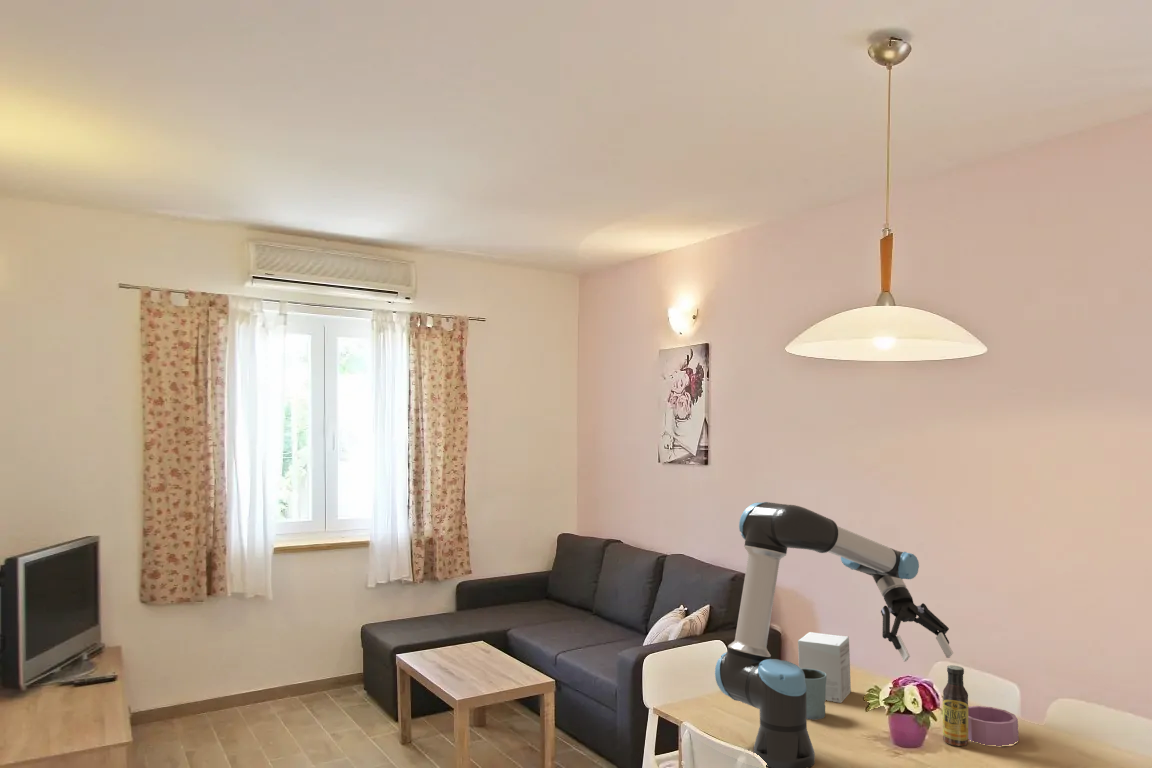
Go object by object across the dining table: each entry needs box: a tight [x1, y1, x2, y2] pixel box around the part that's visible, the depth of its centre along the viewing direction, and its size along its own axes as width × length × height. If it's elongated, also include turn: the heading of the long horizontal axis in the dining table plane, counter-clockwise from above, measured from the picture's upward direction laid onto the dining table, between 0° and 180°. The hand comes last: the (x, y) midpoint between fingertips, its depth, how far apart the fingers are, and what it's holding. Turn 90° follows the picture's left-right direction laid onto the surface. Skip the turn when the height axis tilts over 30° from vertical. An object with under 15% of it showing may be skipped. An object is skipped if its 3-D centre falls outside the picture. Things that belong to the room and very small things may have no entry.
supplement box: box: [797, 631, 852, 704], centre depth 254 cm, size 13×13×18 cm
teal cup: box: [802, 668, 826, 721], centre depth 235 cm, size 10×10×12 cm
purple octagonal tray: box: [968, 705, 1020, 746], centre depth 216 cm, size 14×14×6 cm
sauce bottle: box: [942, 664, 969, 747], centre depth 213 cm, size 6×6×20 cm
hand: (928, 657), depth 224 cm, fingers open, 13 cm apart
